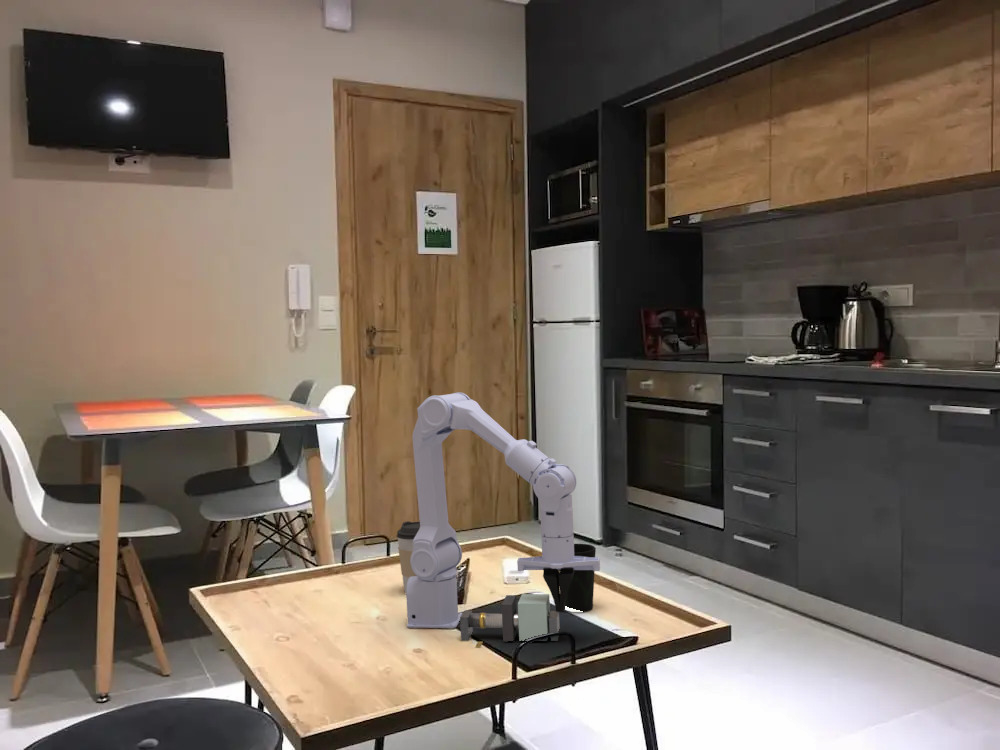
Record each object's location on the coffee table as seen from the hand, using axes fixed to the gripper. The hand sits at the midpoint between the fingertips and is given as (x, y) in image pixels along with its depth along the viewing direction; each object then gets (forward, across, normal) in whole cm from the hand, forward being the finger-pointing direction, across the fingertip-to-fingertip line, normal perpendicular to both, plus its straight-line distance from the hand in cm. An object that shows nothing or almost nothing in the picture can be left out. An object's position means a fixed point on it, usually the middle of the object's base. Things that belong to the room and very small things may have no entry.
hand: (560, 610), depth 154 cm
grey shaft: (+5, -9, -2) cm, 11 cm away
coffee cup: (+5, -33, +28) cm, 44 cm away
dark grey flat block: (+5, -9, 0) cm, 10 cm away
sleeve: (+5, -5, 0) cm, 7 cm away
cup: (+5, +2, +17) cm, 18 cm away
